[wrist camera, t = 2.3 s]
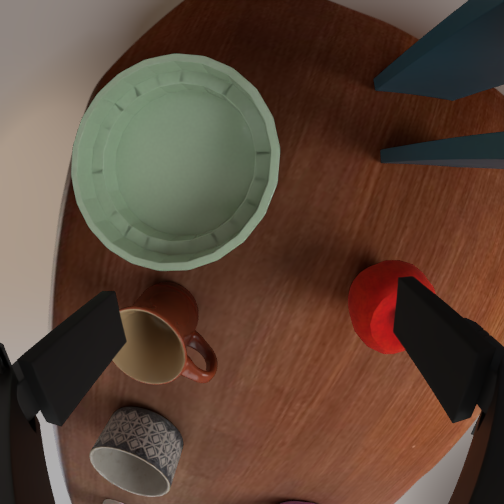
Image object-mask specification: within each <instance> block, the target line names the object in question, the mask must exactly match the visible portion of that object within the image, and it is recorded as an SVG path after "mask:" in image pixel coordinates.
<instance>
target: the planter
mask: <svg viewBox="0 0 504 504" xmlns="http://www.w3.org/2000/svg"><path fill="white" fill-rule="evenodd" d="M182 449H183V439H182V436H181V434H180V432H179V431H178V430H177V428H176V427H175V426H174V425H173V424H172V423H171V422H169V421H168V420H167V419H165V418H164V417H162V416H161V415H159V414H157V413H155V412H152V411H150V410H147V409H144V408H139V407H123V408H120V409H118V410H117V411H115V412H114V413H113V415H112V416H111V418H110V420H109V421H108V423H107V425H106V426H105V428H104V430H103V431H102V433H101V435H100V436H99V438H98V440H97V441H96V443H95V445H94V446H93V448H92V450H91V451H90V455H89V456H90V461H91V463H92V465H93V466H94V468H95V469H96V470H97V471H98V472H99V473H100V474H101V475H102V476H103V477H104V478H105V479H107V480H108V481H109V482H111V483H112V484H114V485H116V486H117V487H119V488H121V489H123V490H126V491H128V492H131V493H134V494H138V495H142V496H149V497H157V496H162V495H165V494H166V493H168V492H169V490H170V487H171V484H172V481H173V477H174V474H175V471H176V468H177V465H178V461H179V458H180V455H181V452H182Z"/></svg>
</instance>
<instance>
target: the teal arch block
mask: <svg viewBox="0 0 504 504" xmlns="http://www.w3.org/2000/svg"><path fill="white" fill-rule="evenodd" d="M503 84H504V0H468V1H467V2H466V3H465V4H463V5H462V6H461V7H460V8H458V9H457V10H456V11H454V12H453V13H452V14H451V15H449V16H448V17H447V18H446V19H444V20H443V21H442V22H441V23H439V24H438V25H437V26H436V27H434V28H433V29H432V30H431V31H429V32H428V33H427V34H426V35H425V36H423V37H422V38H421V39H420V40H419V41H417V42H416V43H415V44H414V45H413V46H411V47H410V48H409V49H408V50H407V51H405V52H404V53H403V54H402V55H401V56H400V57H398V58H397V59H396V60H395V61H394V62H393V63H391V64H390V65H389V66H388V67H387V68H386V69H384V70H383V71H382V72H381V73H380V74H379V75H378V76H376V77H375V78H374V85H375V90H376V91H387V92H397V93H406V94H414V95H421V96H428V97H435V98H441V99H447V100H452V101H453V100H456V99H459V98H462V97H465V96H468V95H472V94H475V93H478V92H481V91H484V90H487V89H491V88H494V87H497V86H500V85H503ZM380 153H381V163H399V164H420V165H437V166H451V167H472V168H496V169H504V132H496V133H487V134H478V135H470V136H463V137H455V138H448V139H441V140H435V141H428V142H422V143H416V144H410V145H404V146H399V147H393V148H388V149H382V150H380Z"/></svg>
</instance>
